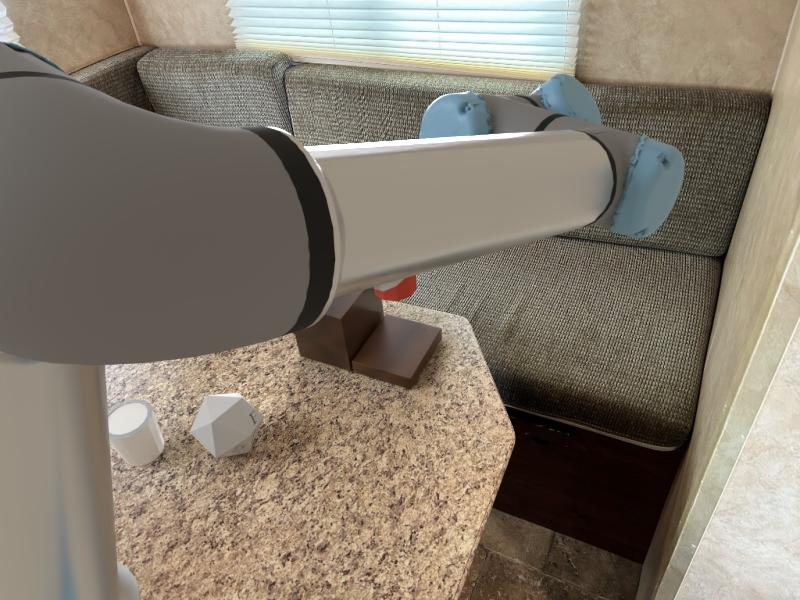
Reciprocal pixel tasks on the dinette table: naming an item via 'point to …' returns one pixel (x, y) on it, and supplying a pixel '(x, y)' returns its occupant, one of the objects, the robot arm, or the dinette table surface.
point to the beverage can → (397, 289)
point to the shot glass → (135, 432)
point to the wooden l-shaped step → (370, 340)
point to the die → (226, 424)
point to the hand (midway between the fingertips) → (371, 267)
